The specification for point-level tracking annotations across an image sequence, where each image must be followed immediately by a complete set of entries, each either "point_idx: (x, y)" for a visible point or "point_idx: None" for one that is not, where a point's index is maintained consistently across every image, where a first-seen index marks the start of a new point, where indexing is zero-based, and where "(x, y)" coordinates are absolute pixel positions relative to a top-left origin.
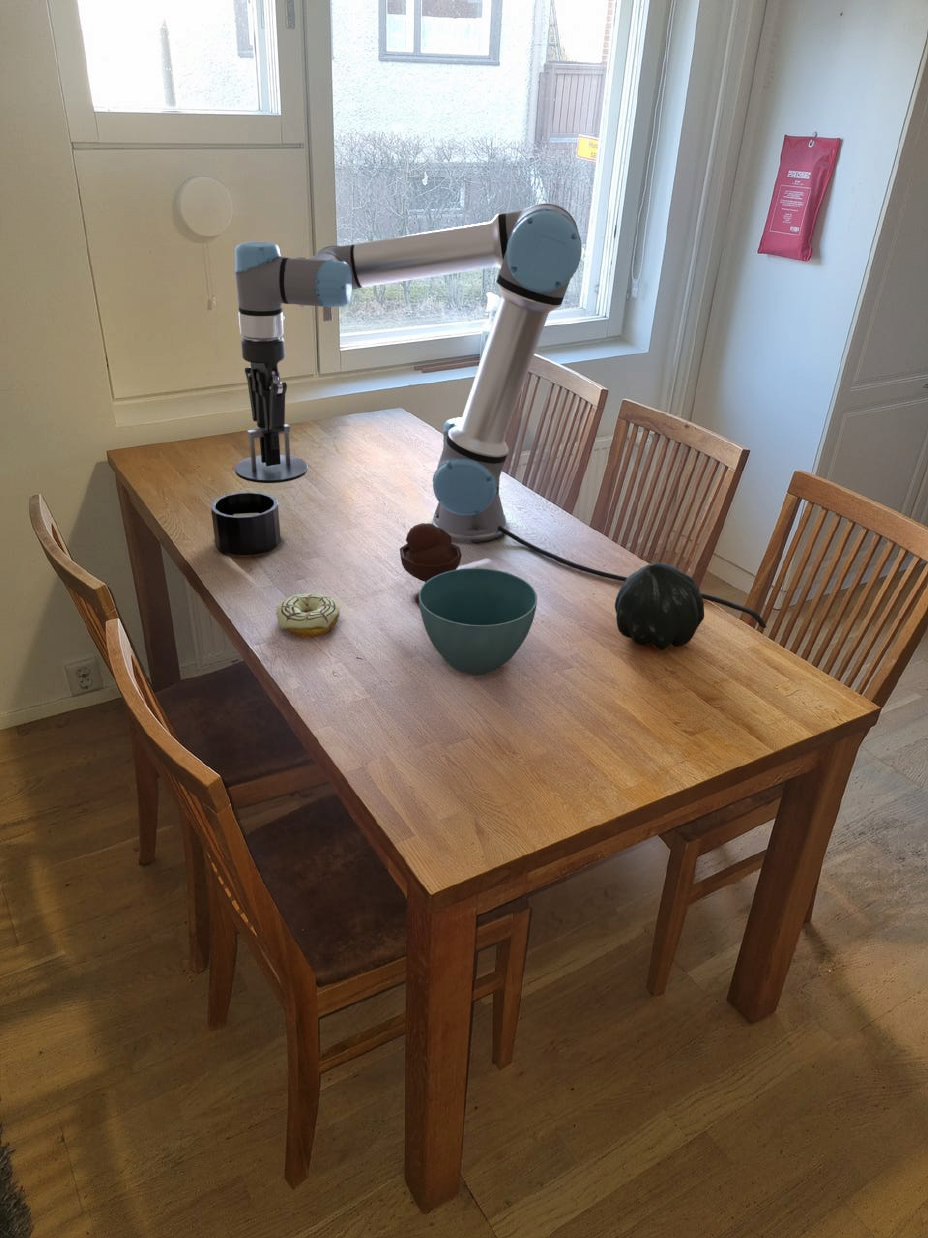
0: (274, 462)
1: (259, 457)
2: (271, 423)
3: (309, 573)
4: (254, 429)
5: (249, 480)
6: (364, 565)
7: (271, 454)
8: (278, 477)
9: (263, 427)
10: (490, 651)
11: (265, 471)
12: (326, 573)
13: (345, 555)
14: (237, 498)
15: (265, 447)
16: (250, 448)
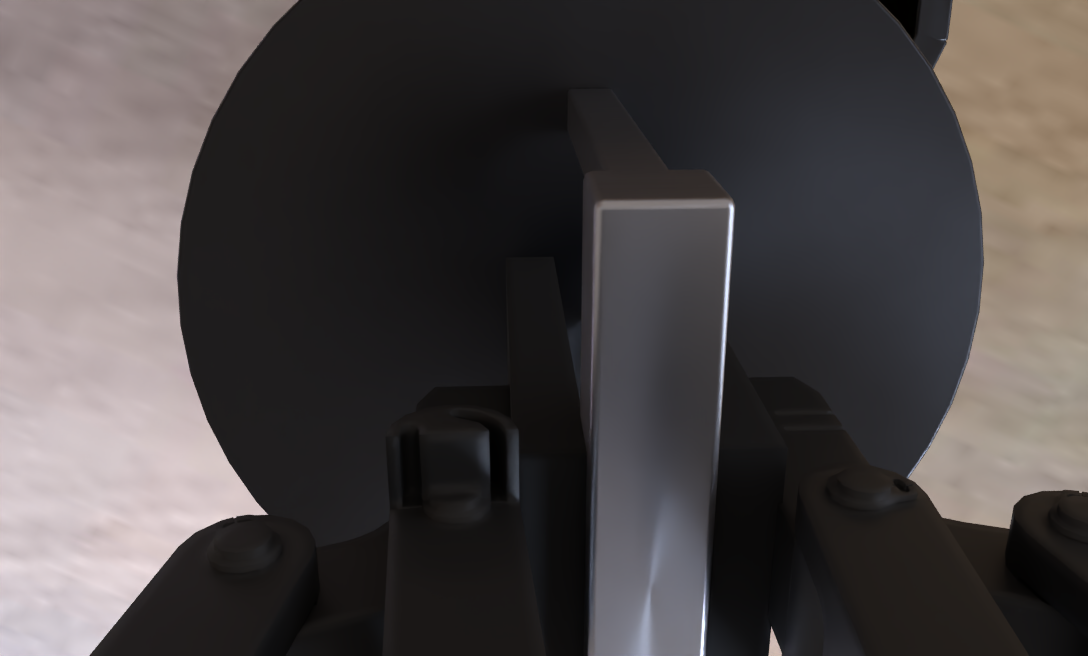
0: (507, 356)
1: (914, 317)
2: (140, 651)
3: (48, 133)
4: (714, 345)
5: None
6: (25, 441)
7: (508, 370)
8: (246, 260)
9: (781, 532)
10: None
11: (486, 207)
12: (8, 220)
13: (191, 409)
14: (901, 16)
15: (534, 344)
16: (631, 141)
